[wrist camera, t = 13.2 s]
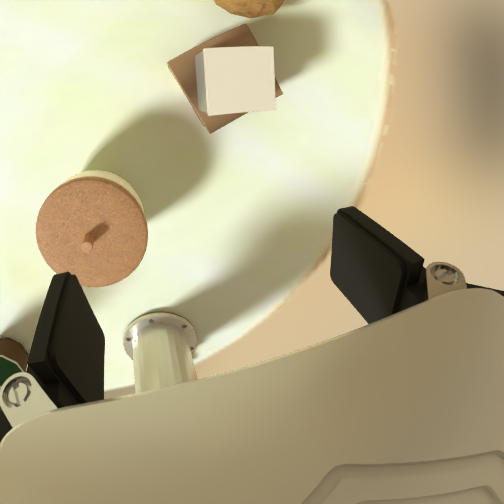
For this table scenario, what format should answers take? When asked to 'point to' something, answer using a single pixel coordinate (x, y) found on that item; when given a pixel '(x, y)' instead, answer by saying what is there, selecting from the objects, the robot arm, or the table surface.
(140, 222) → the lidded bowl
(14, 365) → the beer bottle
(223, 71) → the beige cube
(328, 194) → the table surface
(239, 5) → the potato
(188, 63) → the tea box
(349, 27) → the table surface
